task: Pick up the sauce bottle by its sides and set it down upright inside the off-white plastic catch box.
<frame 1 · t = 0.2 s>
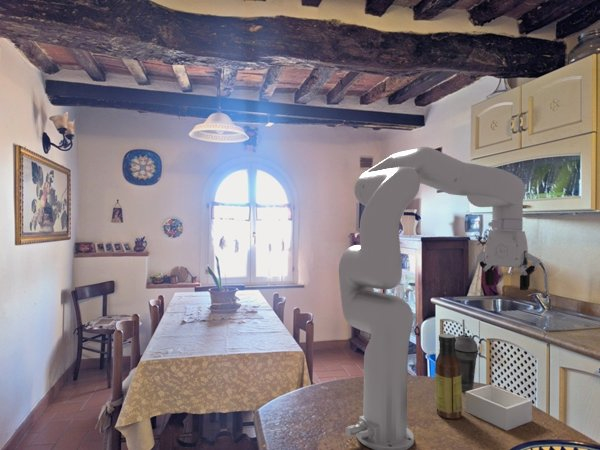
hand: (506, 287, 111), 31 cm above the table, tool pointing down, fingers open, 9 cm apart
catch box: (497, 415, 100), on the table
beverage cup: (464, 389, 117), on the table
sauce bottle: (448, 415, 100), on the table
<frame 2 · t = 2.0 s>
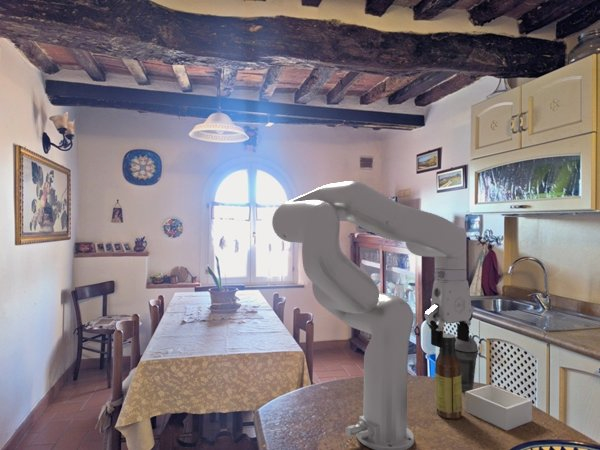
hand: (450, 343, 101), 18 cm above the table, tool pointing down, fingers open, 9 cm apart
nothing on the table moved.
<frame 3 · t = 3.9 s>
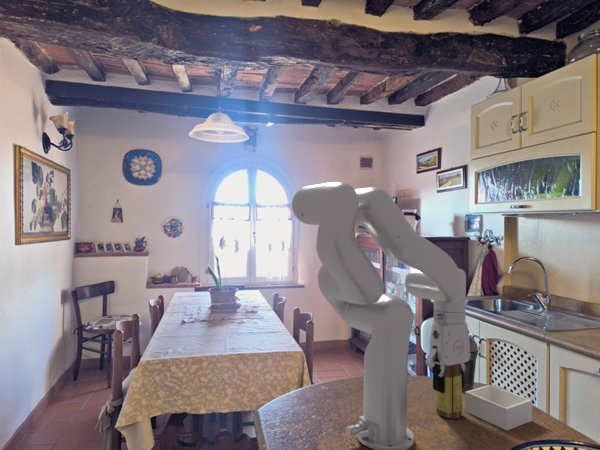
hand: (448, 387, 100), 7 cm above the table, tool pointing down, fingers closed on sauce bottle, 6 cm apart
sauce bottle: (448, 415, 100), on the table, touching gripper
everything else where it was.
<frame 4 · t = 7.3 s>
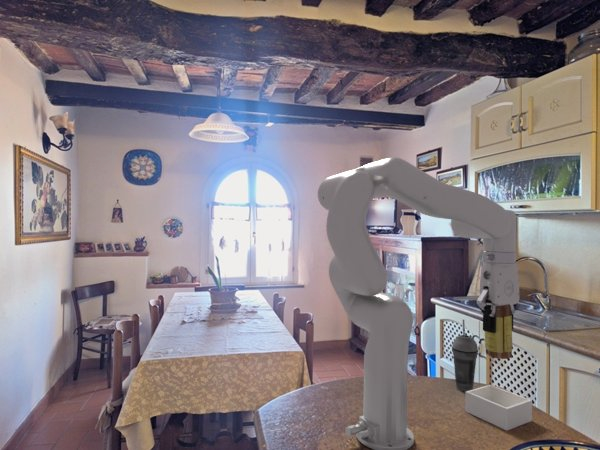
hand: (498, 329, 100), 22 cm above the table, tool pointing down, fingers closed on sauce bottle, 6 cm apart
sauce bottle: (497, 356, 100), point 15 cm above the table, touching gripper
everything else where it was.
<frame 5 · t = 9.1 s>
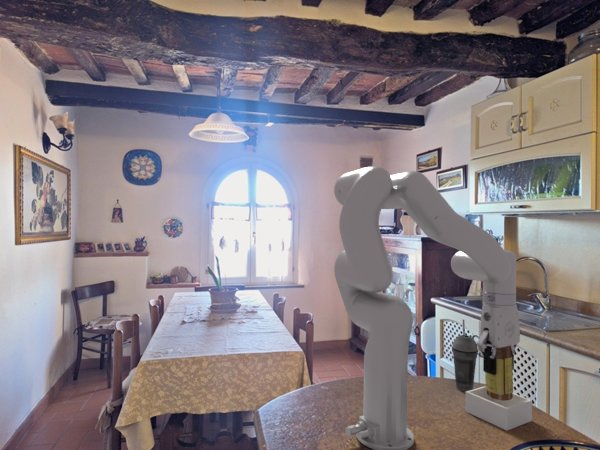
hand: (498, 370, 100), 11 cm above the table, tool pointing down, fingers closed on sauce bottle, 6 cm apart
sauce bottle: (498, 397, 100), point 5 cm above the table, touching gripper
everything else where it was.
when the fingers open (8 cm above the table, at t = 10.6 s): sauce bottle drops 1 cm, resting on catch box.
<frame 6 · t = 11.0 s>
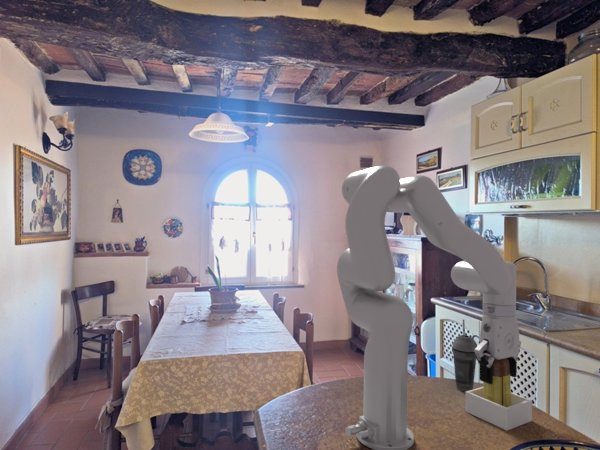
hand: (498, 378, 100), 9 cm above the table, tool pointing down, fingers open, 9 cm apart
sauce bottle: (496, 414, 100), resting on catch box
everything else where it was.
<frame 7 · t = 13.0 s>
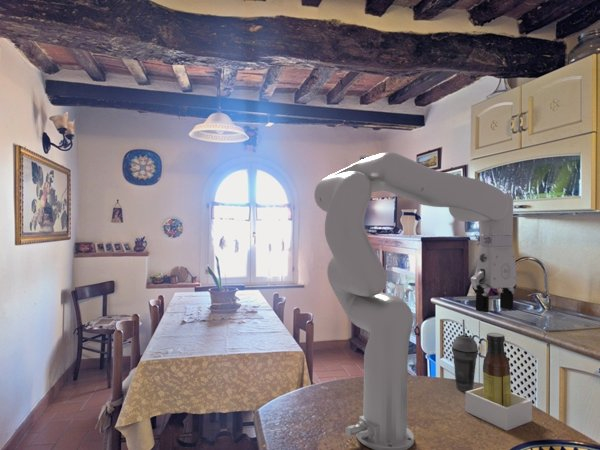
hand: (494, 310, 101), 26 cm above the table, tool pointing down, fingers open, 9 cm apart
nothing on the table moved.
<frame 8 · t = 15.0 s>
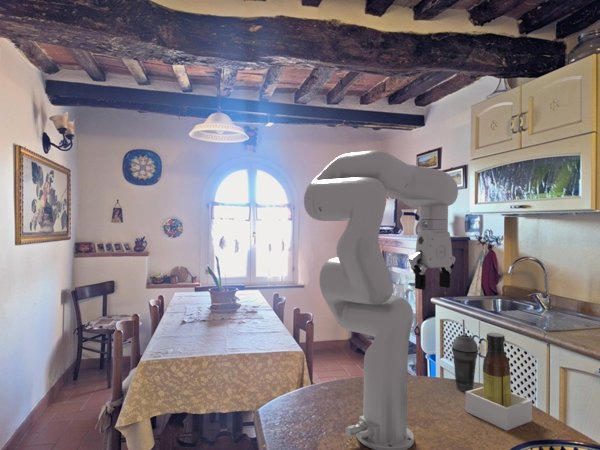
hand: (432, 288, 110), 30 cm above the table, tool pointing down, fingers open, 9 cm apart
nothing on the table moved.
at the end: sauce bottle 0.4 cm off-centre on the catch box, point 0.4 cm above the catch box's base; sauce bottle tilted 0°; the gripper is holding nothing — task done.
